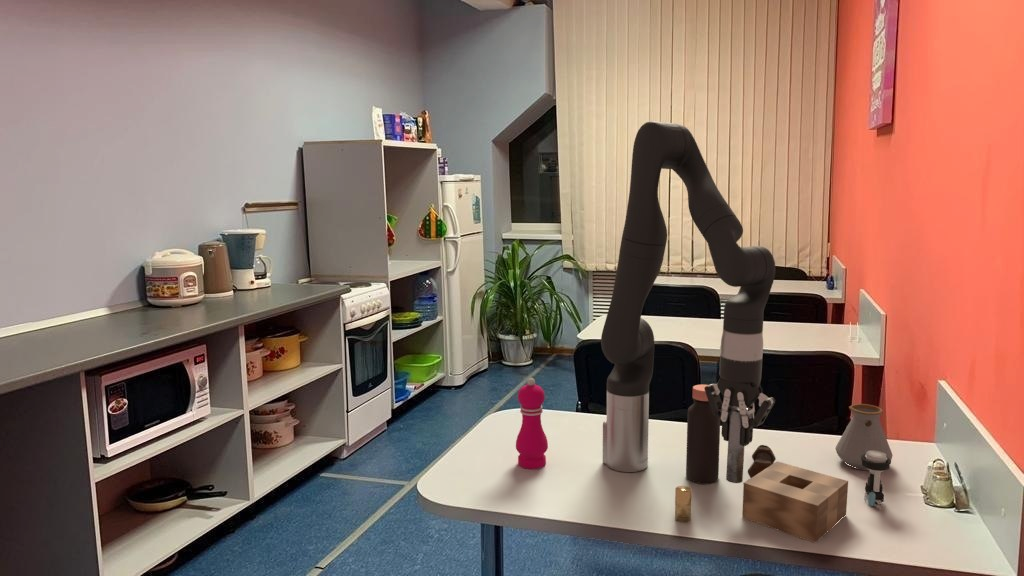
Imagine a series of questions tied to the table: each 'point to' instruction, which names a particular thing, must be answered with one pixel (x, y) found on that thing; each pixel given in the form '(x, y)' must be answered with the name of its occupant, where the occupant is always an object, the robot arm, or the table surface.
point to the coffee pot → (862, 436)
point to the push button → (875, 476)
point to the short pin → (683, 504)
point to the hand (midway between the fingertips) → (736, 441)
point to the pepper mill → (531, 427)
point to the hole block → (795, 500)
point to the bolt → (761, 460)
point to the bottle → (702, 439)
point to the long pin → (735, 448)
